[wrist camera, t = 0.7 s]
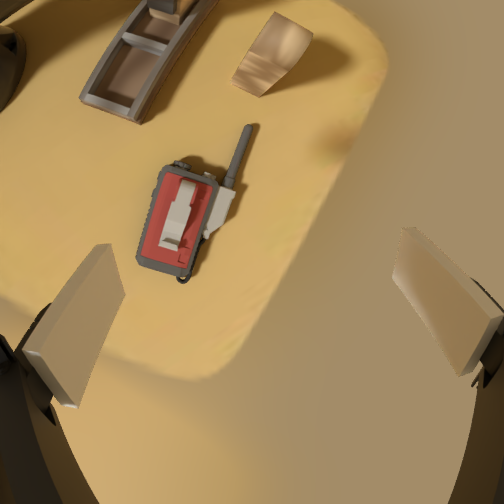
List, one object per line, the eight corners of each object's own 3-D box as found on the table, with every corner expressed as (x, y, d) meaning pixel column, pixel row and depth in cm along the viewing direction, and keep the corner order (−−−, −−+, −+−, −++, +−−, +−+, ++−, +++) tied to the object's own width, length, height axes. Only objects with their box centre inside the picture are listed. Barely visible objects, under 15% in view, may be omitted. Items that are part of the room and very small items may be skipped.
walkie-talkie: (201, 284, 37) (255, 129, 34) (204, 298, 32) (266, 123, 29) (133, 265, 34) (186, 104, 31) (127, 276, 30) (188, 94, 27)
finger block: (229, 83, 31) (256, 39, 19) (249, 47, 30) (283, -2, 19) (258, 97, 32) (299, 62, 21) (277, 62, 32) (322, 20, 20)
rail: (84, 104, 27) (36, 66, 14) (166, -18, 25) (169, -85, 12) (140, 125, 30) (118, 91, 17) (219, 0, 27) (243, -66, 14)
